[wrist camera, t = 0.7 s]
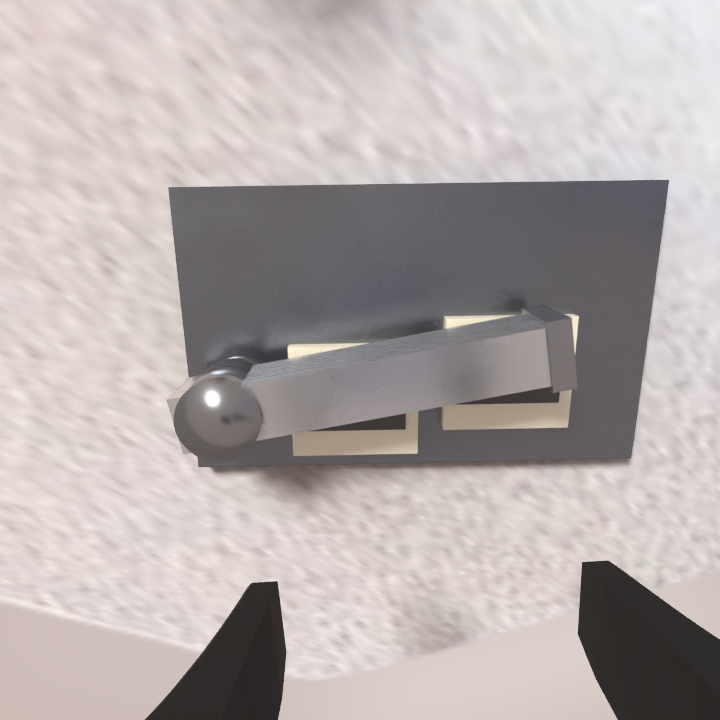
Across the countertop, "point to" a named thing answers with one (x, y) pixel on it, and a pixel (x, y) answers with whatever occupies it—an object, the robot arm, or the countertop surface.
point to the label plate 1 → (356, 426)
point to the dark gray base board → (426, 289)
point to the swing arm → (371, 381)
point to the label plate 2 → (508, 399)
